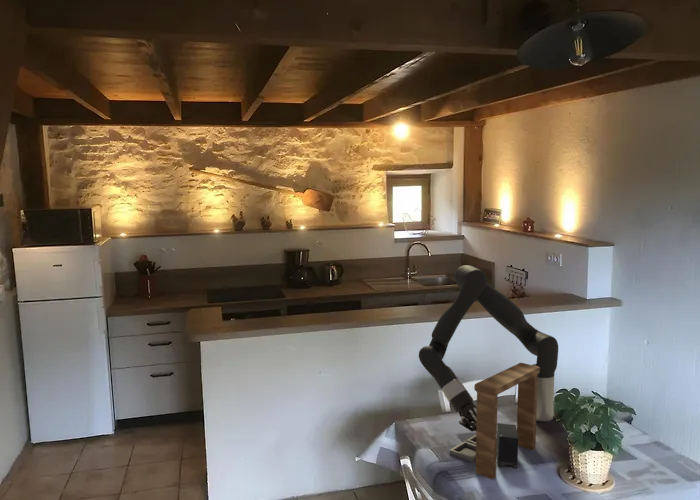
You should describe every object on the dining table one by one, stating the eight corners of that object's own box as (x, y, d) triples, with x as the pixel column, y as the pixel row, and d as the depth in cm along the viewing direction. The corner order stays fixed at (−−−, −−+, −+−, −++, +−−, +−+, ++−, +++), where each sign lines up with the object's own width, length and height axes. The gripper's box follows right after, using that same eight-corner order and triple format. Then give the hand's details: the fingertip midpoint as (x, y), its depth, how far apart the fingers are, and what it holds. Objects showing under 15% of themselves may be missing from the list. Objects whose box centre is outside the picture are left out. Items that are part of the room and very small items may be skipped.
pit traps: (480, 435, 201) (480, 431, 201) (502, 443, 195) (502, 439, 195) (449, 454, 188) (449, 449, 188) (472, 463, 182) (472, 458, 182)
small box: (518, 469, 178) (519, 438, 177) (497, 467, 179) (498, 436, 178) (515, 453, 188) (516, 424, 187) (495, 452, 189) (496, 422, 188)
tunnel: (518, 442, 196) (520, 362, 193) (537, 448, 191) (539, 367, 188) (473, 472, 176) (474, 384, 172) (493, 480, 171) (494, 389, 168)
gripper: (452, 394, 189) (483, 440, 181) (474, 384, 198) (504, 427, 191) (439, 405, 193) (469, 450, 186) (461, 395, 202) (490, 437, 195)
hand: (487, 439), depth 188 cm, fingers closed
